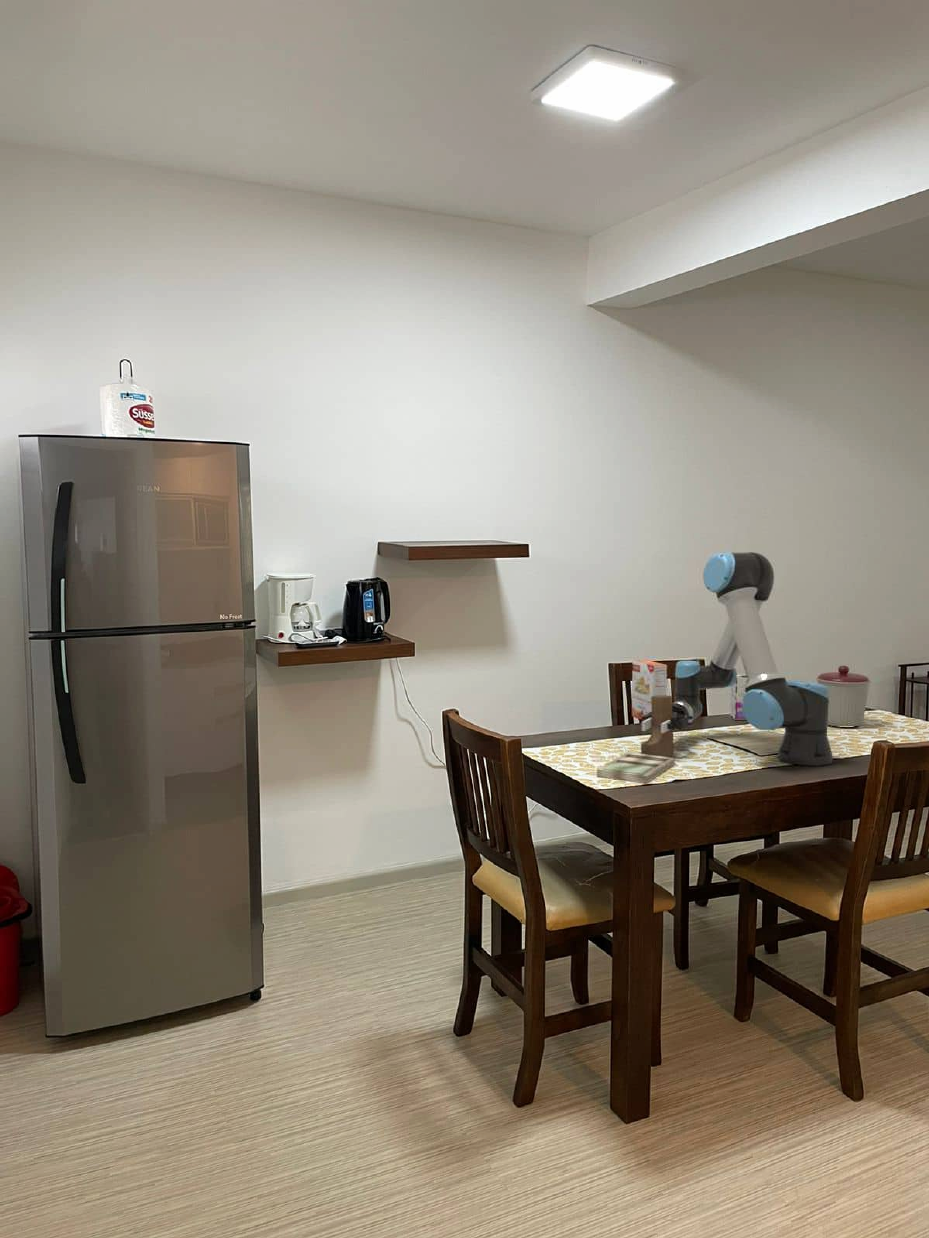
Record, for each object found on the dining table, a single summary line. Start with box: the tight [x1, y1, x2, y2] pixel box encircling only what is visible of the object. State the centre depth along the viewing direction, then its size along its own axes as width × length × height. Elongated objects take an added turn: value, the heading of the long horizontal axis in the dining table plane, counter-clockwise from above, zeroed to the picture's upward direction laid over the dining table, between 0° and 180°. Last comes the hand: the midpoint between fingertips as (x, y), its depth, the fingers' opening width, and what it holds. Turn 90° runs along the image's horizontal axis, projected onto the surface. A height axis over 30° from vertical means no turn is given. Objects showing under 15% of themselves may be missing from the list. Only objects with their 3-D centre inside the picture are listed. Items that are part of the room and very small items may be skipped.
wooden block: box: [640, 695, 675, 758], centre depth 279 cm, size 9×4×18 cm, turn 120°
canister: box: [815, 665, 872, 727], centre depth 329 cm, size 18×18×21 cm
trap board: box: [596, 751, 676, 784], centre depth 264 cm, size 14×24×2 cm, turn 150°
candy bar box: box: [730, 673, 748, 719], centre depth 339 cm, size 11×5×16 cm, turn 97°
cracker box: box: [631, 659, 668, 720], centre depth 337 cm, size 14×6×21 cm, turn 22°
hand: (652, 727), depth 274 cm, fingers closed on wooden block, 5 cm apart
